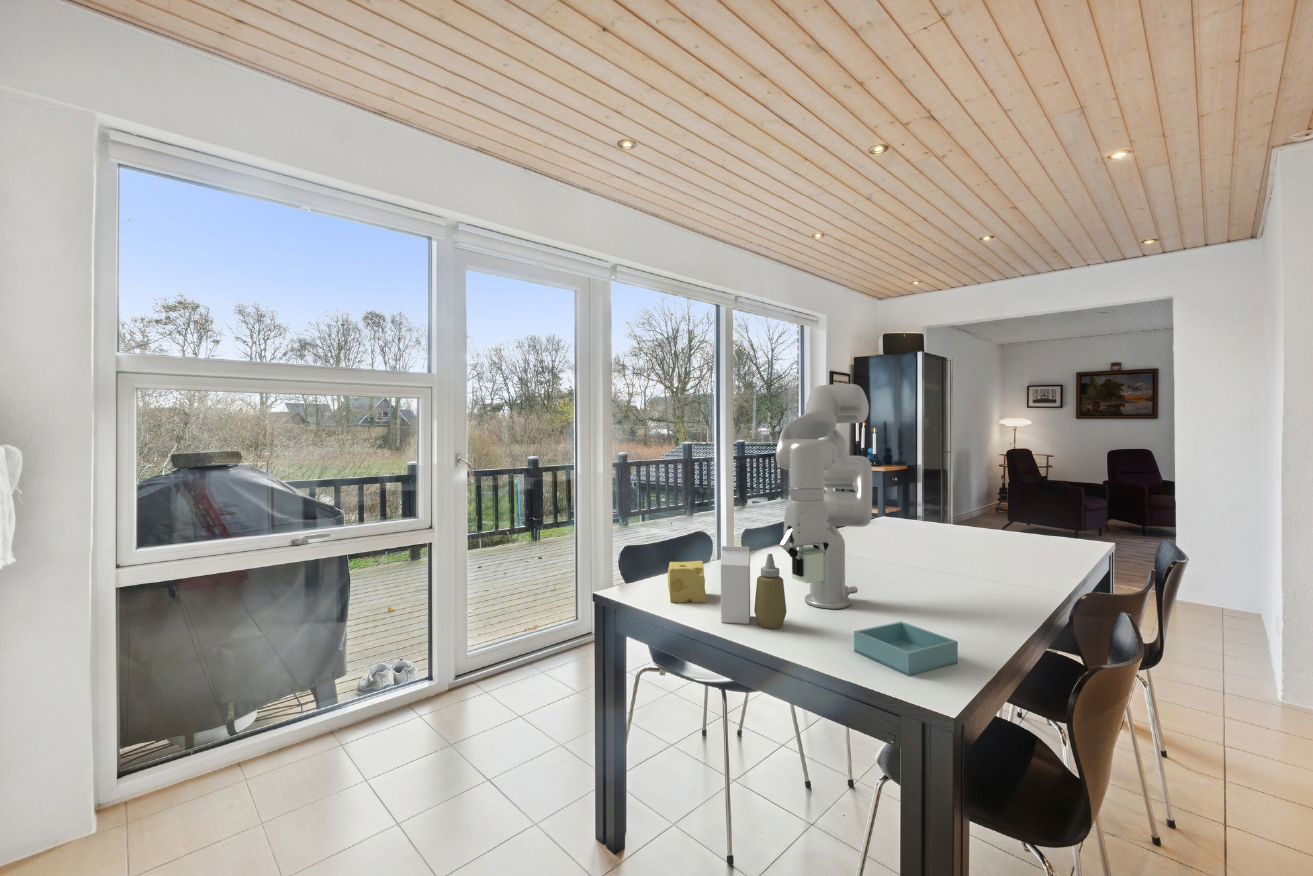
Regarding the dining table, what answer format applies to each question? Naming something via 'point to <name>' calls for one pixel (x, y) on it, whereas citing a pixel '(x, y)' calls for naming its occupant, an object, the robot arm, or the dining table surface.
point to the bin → (906, 647)
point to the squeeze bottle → (770, 596)
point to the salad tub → (811, 565)
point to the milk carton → (735, 584)
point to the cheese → (686, 582)
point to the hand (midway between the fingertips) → (807, 572)
